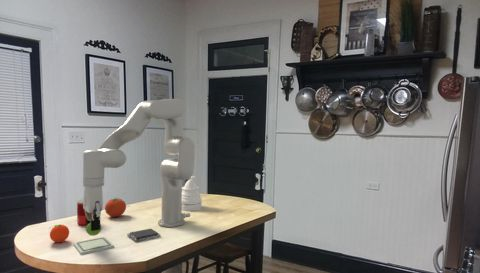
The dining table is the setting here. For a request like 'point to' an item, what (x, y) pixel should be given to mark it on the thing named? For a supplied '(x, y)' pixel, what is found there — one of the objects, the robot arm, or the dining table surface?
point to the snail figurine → (88, 228)
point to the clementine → (59, 233)
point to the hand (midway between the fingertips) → (93, 227)
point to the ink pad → (143, 235)
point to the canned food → (81, 214)
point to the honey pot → (191, 196)
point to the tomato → (115, 207)
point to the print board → (93, 245)
